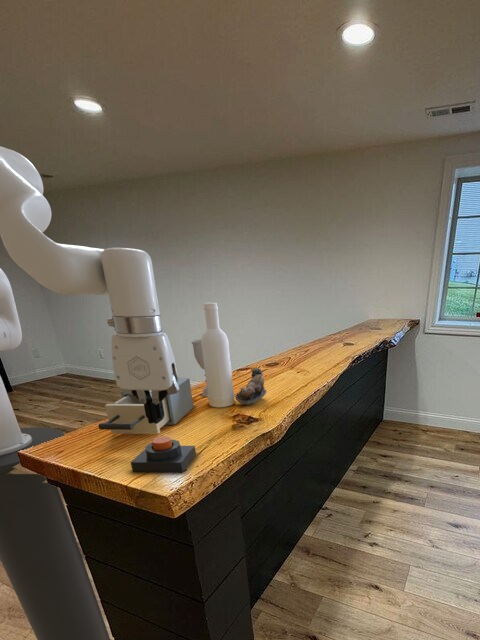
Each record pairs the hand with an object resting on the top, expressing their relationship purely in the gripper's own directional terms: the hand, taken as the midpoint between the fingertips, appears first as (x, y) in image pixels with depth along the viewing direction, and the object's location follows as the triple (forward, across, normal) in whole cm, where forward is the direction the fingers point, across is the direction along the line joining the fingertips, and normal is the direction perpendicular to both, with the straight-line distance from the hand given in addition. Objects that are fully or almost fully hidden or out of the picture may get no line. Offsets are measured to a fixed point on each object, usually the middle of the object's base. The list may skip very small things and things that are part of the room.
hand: (156, 420), depth 70 cm
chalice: (+10, -6, +50) cm, 51 cm away
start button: (+6, 0, 0) cm, 6 cm away
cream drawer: (+9, -13, +16) cm, 22 cm away
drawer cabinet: (+10, -12, +29) cm, 33 cm away
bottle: (+10, +2, +40) cm, 41 cm away
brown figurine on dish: (+10, +10, +42) cm, 44 cm away
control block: (+9, 0, 0) cm, 9 cm away
